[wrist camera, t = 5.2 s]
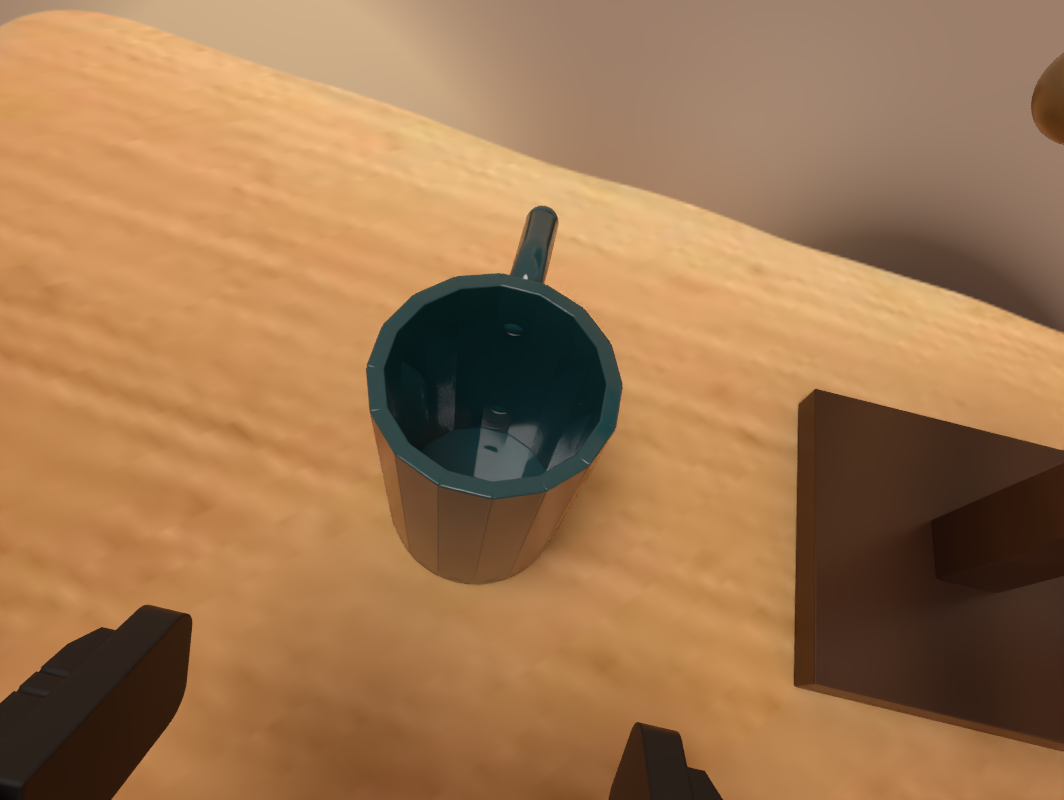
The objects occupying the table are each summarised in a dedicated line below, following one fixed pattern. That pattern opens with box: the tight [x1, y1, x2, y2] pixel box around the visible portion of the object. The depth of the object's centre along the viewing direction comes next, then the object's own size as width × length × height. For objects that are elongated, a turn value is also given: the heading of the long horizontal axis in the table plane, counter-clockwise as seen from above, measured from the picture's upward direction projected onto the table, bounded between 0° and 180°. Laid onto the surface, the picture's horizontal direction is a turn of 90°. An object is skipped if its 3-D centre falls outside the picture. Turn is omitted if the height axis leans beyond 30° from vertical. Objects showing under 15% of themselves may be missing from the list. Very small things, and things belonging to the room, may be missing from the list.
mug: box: [366, 206, 623, 584], centre depth 22 cm, size 11×6×10 cm, turn 168°
